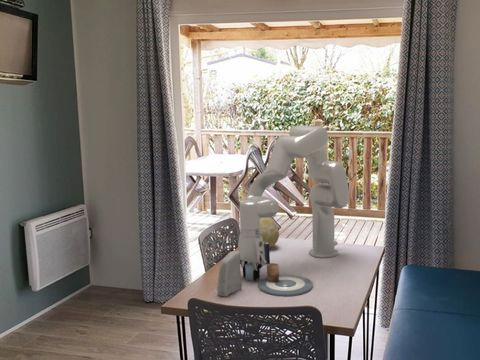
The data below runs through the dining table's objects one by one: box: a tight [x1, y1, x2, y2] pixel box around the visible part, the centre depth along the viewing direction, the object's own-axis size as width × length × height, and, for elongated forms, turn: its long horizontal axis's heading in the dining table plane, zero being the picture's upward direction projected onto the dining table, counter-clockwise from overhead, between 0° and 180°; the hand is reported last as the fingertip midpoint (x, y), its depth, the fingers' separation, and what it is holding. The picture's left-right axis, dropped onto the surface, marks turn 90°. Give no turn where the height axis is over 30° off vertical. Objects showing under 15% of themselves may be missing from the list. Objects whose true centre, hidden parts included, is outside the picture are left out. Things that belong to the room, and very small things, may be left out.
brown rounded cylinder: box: [266, 262, 280, 282], centre depth 199 cm, size 4×4×6 cm
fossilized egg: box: [260, 217, 280, 249], centre depth 244 cm, size 13×13×15 cm
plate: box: [258, 273, 314, 297], centre depth 196 cm, size 20×20×1 cm
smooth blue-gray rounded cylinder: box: [245, 262, 257, 282], centre depth 204 cm, size 4×4×6 cm
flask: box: [249, 242, 271, 265], centre depth 223 cm, size 9×3×11 cm, turn 71°
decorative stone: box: [216, 250, 242, 297], centre depth 191 cm, size 11×6×15 cm, turn 148°
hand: (251, 277), depth 204 cm, fingers closed on smooth blue-gray rounded cylinder, 4 cm apart
